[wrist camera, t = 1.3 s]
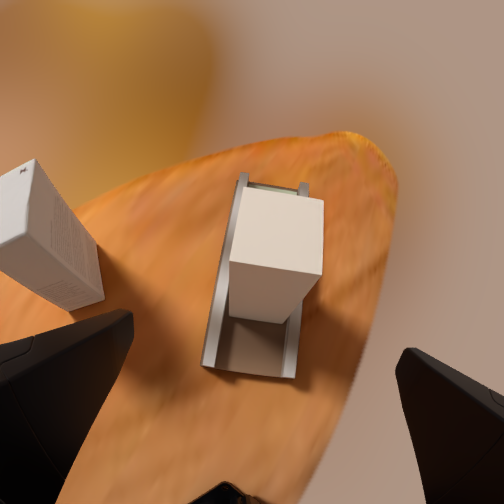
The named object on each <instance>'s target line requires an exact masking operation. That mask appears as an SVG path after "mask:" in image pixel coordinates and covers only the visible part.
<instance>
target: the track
mask: <svg viewBox="0 0 504 504" xmlns="http://www.w3.org/2000/svg"><path fill="white" fill-rule="evenodd" d="M248 180H249V173H243V172H241V173H240V177H239V180H237V182H236V186H235V191H234V195H233V200H232V204H231V209H230V214H229V218H228V223H227V228H226V232H225V237H224V242H223V247H222V252H221V256H220V261H219V266H218V271H217V276H216V281H215V286H214V292H213V297H212V302H211V307H210V312H209V318H208V323H207V329H206V334H205V340H204V345H203V351H202V356H201V362H200V366H203V367H208V368H214V369H220V370H226V371H232V372H239V373H245V374H253V375H260V376H269V377H277V378H287V379H295V376H296V367H297V358H298V349H299V339H300V329H301V318H302V307H303V300H302V301H301V302H300V303H299V304H298V306H297V307H296V308H295V309H294V311H293V312H292V313H291V314H290V315H289V317H288V318H287V319H286V320H285V321H284V323H283V324H278V323H271V322H264V321H257V320H250V319H243V318H237V317H231V316H229V258H230V253H231V248H232V243H233V238H234V232H235V227H236V222H237V217H238V212H239V207H240V202H241V197H242V192H243V187H249V188H256V189H262V190H268V191H274V192H280V193H286V194H292V195H297V196H303V197H308V198H309V183H304V182H300V185H299V188H298V190H296V189H291V188H285V187H279V186H273V185H267V184H261V183H254V182H248Z"/></svg>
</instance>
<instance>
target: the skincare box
mask: <svg viewBox="0 0 504 504" xmlns="http://www.w3.org/2000/svg"><path fill="white" fill-rule="evenodd" d="M0 270H1V271H2V272H4V273H5V274H6V275H8V276H9V277H11V278H13V279H14V280H15V281H17V282H19V283H20V284H22V285H23V286H25V287H27V288H28V289H30V290H31V291H33V292H34V293H36V294H38V295H39V296H41V297H43V298H45V299H46V300H48V301H50V302H51V303H53V304H55V305H57V306H58V307H60V308H62V309H64V310H66V311H72V310H75V309H78V308H81V307H84V306H87V305H90V304H93V303H97V302H100V301H103V300H105V296H104V291H103V285H102V279H101V273H100V267H99V261H98V254H97V246H96V241H95V240H94V239H93V238H92V236H91V235H90V234H89V233H88V231H87V230H86V229H85V228H84V226H83V225H82V224H81V222H80V221H79V220H78V219H77V217H76V216H75V215H74V213H73V212H72V211H71V209H70V208H69V207H68V205H67V204H66V203H65V201H64V200H63V198H62V197H61V196H60V194H59V193H58V191H57V190H56V188H55V187H54V185H53V184H52V183H51V181H50V179H49V178H48V176H47V175H46V173H45V172H44V171H43V169H42V168H41V166H40V164H39V163H38V161H37V160H36V159H32V160H30V161H28V162H26V163H24V164H23V165H21V166H19V167H17V168H15V169H13V170H12V171H10V172H8V173H6V174H4V175H2V176H1V177H0Z"/></svg>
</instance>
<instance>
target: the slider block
mask: <svg viewBox="0 0 504 504" xmlns="http://www.w3.org/2000/svg"><path fill="white" fill-rule="evenodd" d="M323 211H324V201H323V200H319V199H314V198H308V197H303V196H297V195H292V194H286V193H280V192H274V191H268V190H262V189H256V188H249V187H243V192H242V197H241V202H240V207H239V212H238V217H237V222H236V227H235V232H234V238H233V243H232V248H231V253H230V258H229V316H231V317H237V318H243V319H250V320H257V321H264V322H271V323H278V324H283V323H284V321H285V320H286V319H287V318H288V317H289V315H290V314H291V313H292V312H293V311H294V309H295V308H296V307H297V306H298V304H299V303H300V302H301V301H302V300H303V298H304V297H305V296H306V295H307V293H308V292H309V291H310V290H311V288H312V287H313V286H314V285H315V283H316V282H317V281H318V280H319V278H320V277H321V276H322V263H323Z"/></svg>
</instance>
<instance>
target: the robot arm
mask: <svg viewBox="0 0 504 504" xmlns="http://www.w3.org/2000/svg"><path fill="white" fill-rule="evenodd" d="M133 338H134V321H133V313H132V312H131V311H129V310H125V309H117V310H114V311H111V312H108V313H105V314H101V315H98V316H95V317H92V318H89V319H86V320H82V321H79V322H76V323H73V324H70V325H66V326H63V327H60V328H57V329H53V330H50V331H47V332H44V333H40V334H37V335H35V336H30V337H27V338H24V339H20V340H17V341H13V342H9V343H5V344H1V345H0V504H55V503H56V500H57V498H58V496H59V494H60V491H61V489H62V487H63V485H64V482H65V479H66V478H67V475H68V473H69V471H70V469H71V467H72V465H73V463H74V461H75V458H76V456H77V454H78V452H79V450H80V448H81V446H82V444H83V442H84V440H85V438H86V436H87V434H88V432H89V430H90V428H91V426H92V424H93V422H94V420H95V419H96V417H97V415H98V413H99V411H100V409H101V407H102V405H103V403H104V401H105V400H106V398H107V396H108V394H109V392H110V390H111V389H112V387H113V385H114V383H115V381H116V379H117V377H118V375H119V373H120V371H121V368H122V366H123V363H124V361H125V358H126V356H127V353H128V351H129V349H130V346H131V344H132V341H133ZM395 374H396V379H397V384H398V388H399V393H400V398H401V403H402V408H403V412H404V415H405V418H406V422H407V425H408V429H409V432H410V436H411V440H412V443H413V447H414V451H415V455H416V459H417V463H418V467H419V471H420V476H421V480H422V485H423V490H424V495H425V500H426V504H504V396H502V395H500V394H499V393H497V392H495V391H493V390H491V389H488V388H487V387H486V386H484V385H482V384H480V383H479V382H477V381H475V380H473V379H471V378H470V377H468V376H466V375H464V374H462V373H460V372H459V371H457V370H455V369H453V368H452V367H450V366H448V365H446V364H444V363H442V362H441V361H439V360H437V359H435V358H434V357H432V356H430V355H428V354H426V353H425V352H423V351H421V350H419V349H417V348H406V349H405V350H404V351H403V353H402V355H401V357H400V359H399V362H398V364H397V366H396V370H395ZM222 486H228V489H223V488H222ZM188 504H260V503H259V502H258V501H257V500H255V499H254V498H253V497H252V496H250V495H247V494H245V495H243V494H242V493H241V492H240V491H238V490H237V489H236V488H235V487H234V486H233V485H232V484H230V483H229V482H226V481H223V482H221V483H219V484H218V485H216V486H215V487H213V488H212V489H210V490H209V491H207V492H206V493H204V494H203V495H201V496H199V497H198V498H196V499H195V500H193V501H191V502H190V503H188Z"/></svg>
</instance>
